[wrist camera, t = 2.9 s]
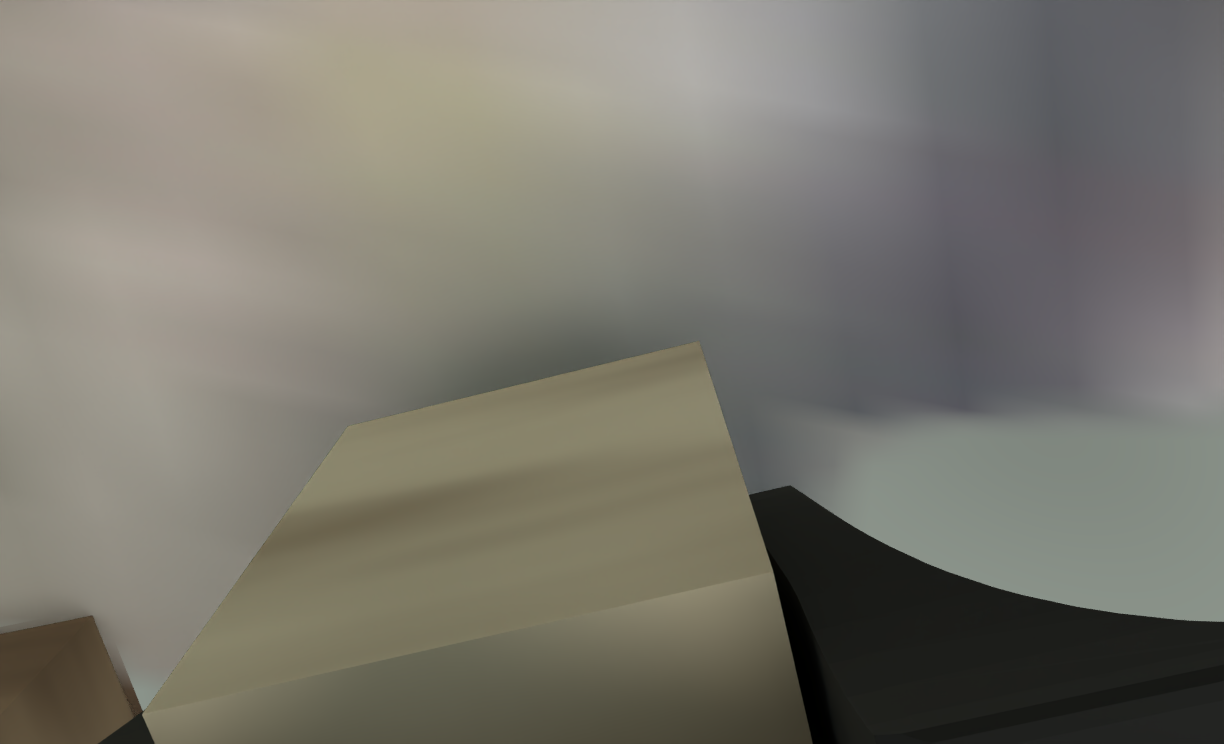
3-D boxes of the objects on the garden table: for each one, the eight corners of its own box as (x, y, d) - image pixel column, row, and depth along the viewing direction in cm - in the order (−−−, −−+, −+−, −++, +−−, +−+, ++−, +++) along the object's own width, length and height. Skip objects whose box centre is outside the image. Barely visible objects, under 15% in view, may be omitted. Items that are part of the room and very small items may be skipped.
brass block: (773, 655, 14) (888, 1071, 8) (451, 725, 14) (345, 1175, 9) (698, 340, 13) (773, 572, 7) (348, 426, 13) (142, 714, 7)
